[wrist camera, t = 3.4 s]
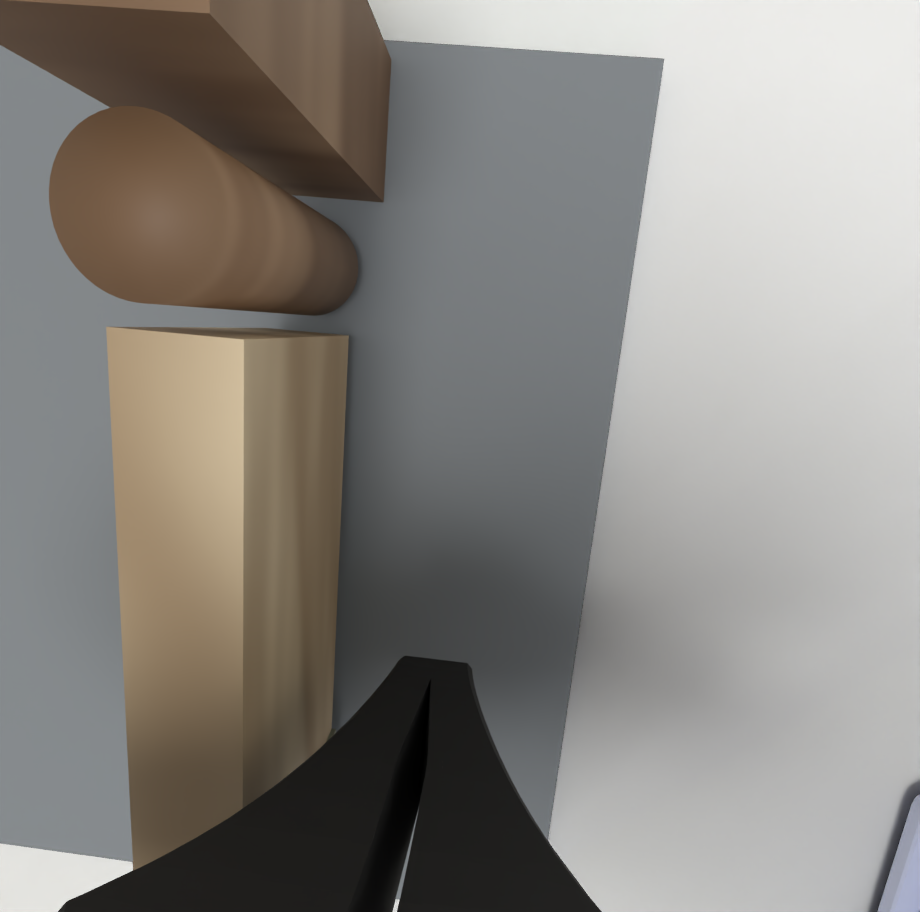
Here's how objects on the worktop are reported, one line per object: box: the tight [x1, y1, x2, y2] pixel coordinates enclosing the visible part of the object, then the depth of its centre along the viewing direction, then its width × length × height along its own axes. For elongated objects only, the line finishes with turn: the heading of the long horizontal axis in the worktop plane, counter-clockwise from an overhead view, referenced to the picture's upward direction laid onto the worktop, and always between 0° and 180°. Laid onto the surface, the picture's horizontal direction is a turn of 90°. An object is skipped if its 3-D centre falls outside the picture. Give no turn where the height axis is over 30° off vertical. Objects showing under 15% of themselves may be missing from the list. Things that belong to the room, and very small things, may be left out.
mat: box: [0, 40, 664, 899], centre depth 13 cm, size 20×19×1 cm
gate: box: [49, 106, 358, 870], centre depth 9 cm, size 2×12×5 cm, turn 175°
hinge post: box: [0, 0, 391, 202], centre depth 8 cm, size 2×2×7 cm
